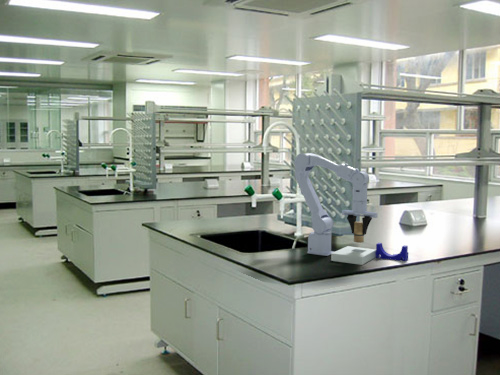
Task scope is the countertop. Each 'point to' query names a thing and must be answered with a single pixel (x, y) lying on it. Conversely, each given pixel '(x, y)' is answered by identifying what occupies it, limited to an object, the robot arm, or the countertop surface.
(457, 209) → the countertop surface
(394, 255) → the blue cradle bracket
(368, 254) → the hole board
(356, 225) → the oak peg
